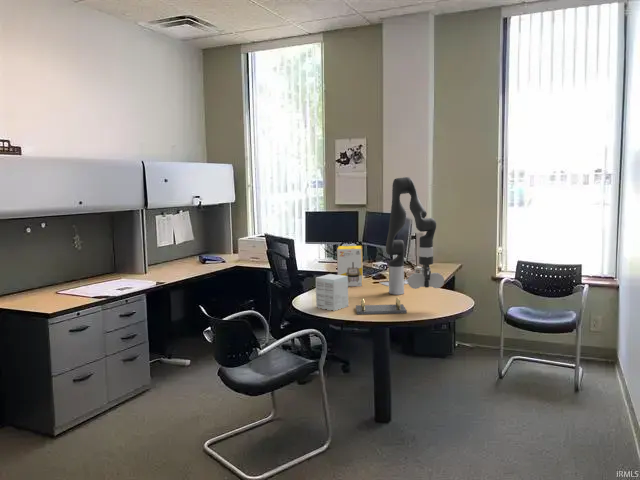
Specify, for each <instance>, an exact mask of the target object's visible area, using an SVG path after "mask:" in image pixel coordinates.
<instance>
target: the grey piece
mask: <svg viewBox="0 0 640 480" xmlns="http://www.w3.org/2000/svg"><path fill="white" fill-rule="evenodd" d="M426 278H428V277H426ZM407 279H408V284H407V285H408V286H409V287H410V288H411V289H413V290H414V289H420V288H422V287H423V288H425V287H424V276H423V273H415V272H414V273H411V274H410V275H409V276H408V278H407ZM444 284H445V278H444V276H443V275H442V274H441V273H439V272H431V274H430V280H429V287H428V288H431V287H432V288H434V289H440V288H441V287H443V286H444Z"/></svg>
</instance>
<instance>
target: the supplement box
mask: <svg viewBox="0 0 640 480" xmlns="http://www.w3.org/2000/svg"><path fill="white" fill-rule="evenodd" d="M315 303H316V305H315V307H318V308H317V309H320V308H322V309H321V310H325V309H327V310H326V311H331V310H333V311H332V312H336V311H339V310H342V309H344V308H348V307H349V286H348V276H343V275H338V274H332V273H328V274H325V275H324V274H323V275H321V276H316V277H315ZM341 308H342V309H341ZM338 309H339V310H338ZM335 310H336V311H335Z"/></svg>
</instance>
